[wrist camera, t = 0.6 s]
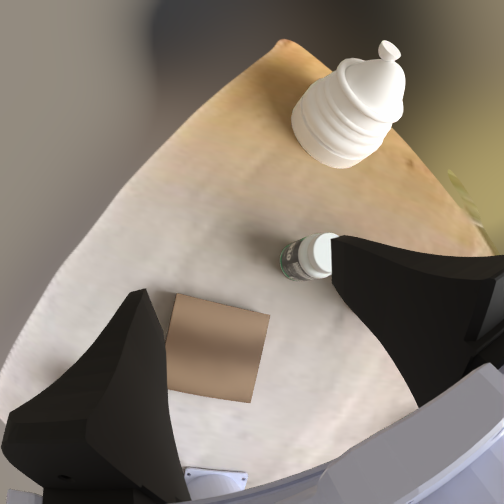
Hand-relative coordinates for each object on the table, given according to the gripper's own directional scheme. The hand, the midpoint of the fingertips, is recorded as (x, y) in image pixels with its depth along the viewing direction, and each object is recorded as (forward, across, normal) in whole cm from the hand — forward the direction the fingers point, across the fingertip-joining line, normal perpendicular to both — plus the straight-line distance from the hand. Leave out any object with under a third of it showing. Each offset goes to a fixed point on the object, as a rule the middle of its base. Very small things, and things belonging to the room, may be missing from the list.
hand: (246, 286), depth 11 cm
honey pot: (+32, -22, -2) cm, 38 cm away
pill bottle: (+21, -10, +13) cm, 27 cm away
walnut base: (+16, +3, +17) cm, 24 cm away
